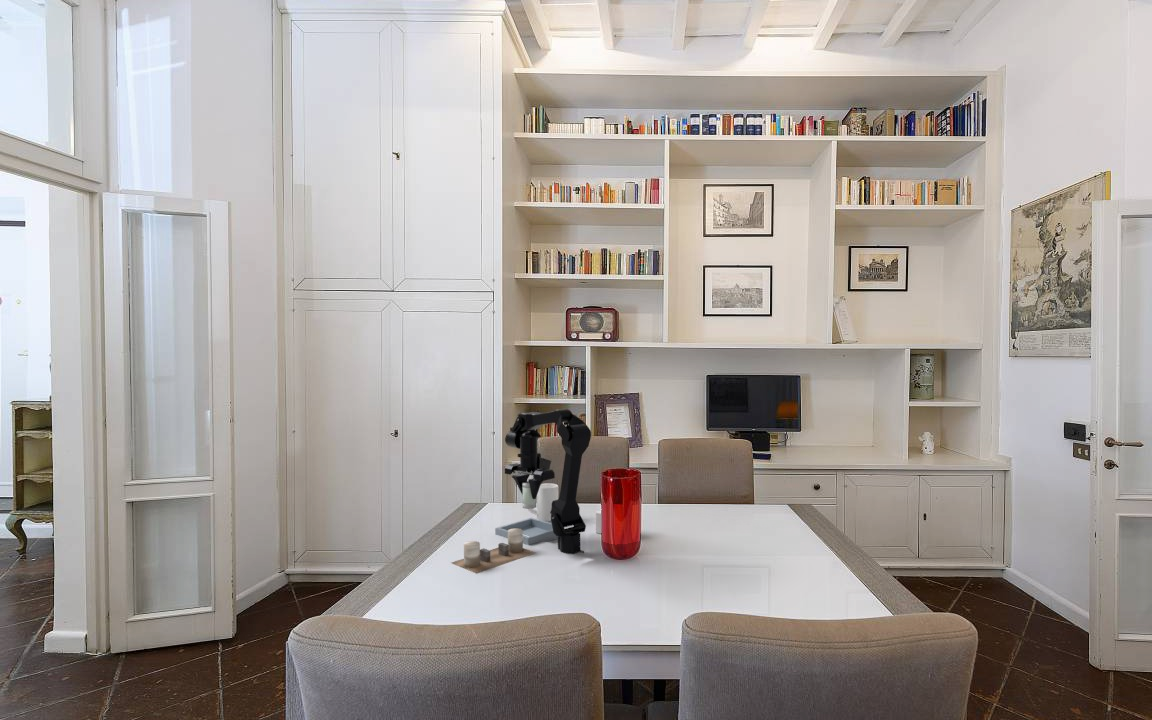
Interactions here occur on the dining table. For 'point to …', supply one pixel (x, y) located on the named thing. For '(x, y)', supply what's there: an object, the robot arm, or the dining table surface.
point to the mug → (545, 501)
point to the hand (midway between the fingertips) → (529, 497)
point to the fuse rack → (493, 553)
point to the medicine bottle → (598, 520)
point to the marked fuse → (528, 497)
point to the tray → (530, 530)
